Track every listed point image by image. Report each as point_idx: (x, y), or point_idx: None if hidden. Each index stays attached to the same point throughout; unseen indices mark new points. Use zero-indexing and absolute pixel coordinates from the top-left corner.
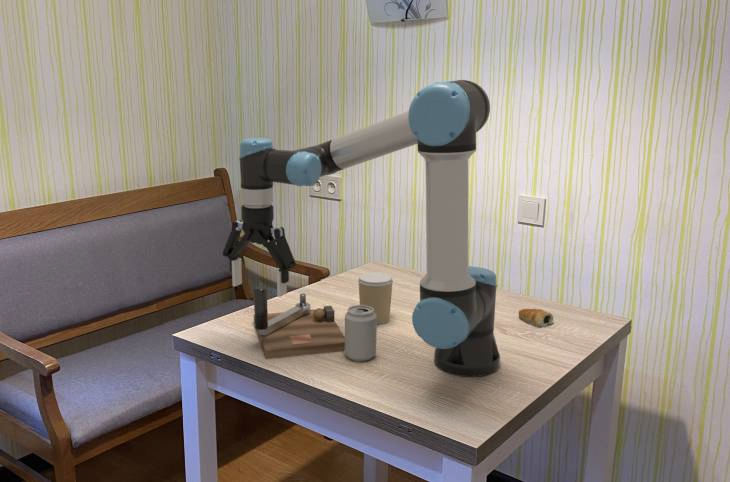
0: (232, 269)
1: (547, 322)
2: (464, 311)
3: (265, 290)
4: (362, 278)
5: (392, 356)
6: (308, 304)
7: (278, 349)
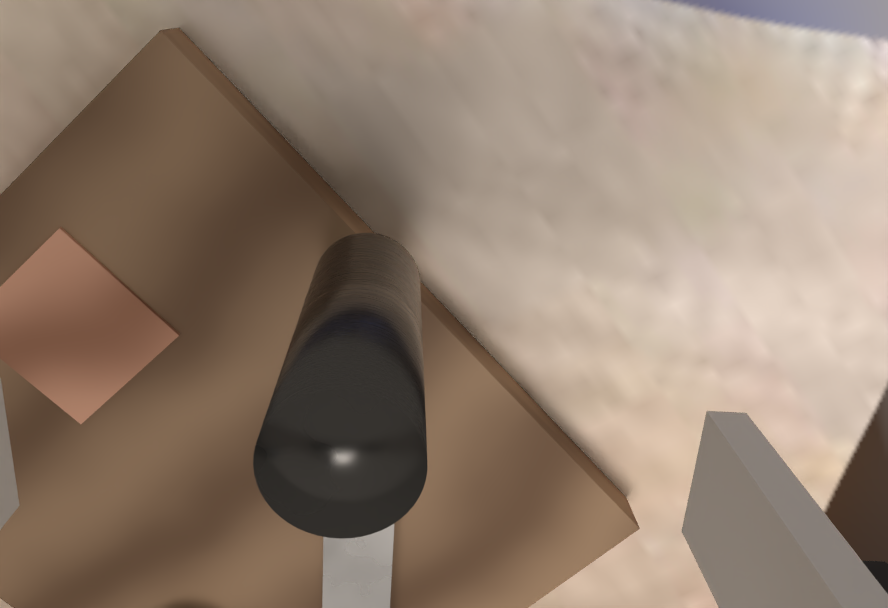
0: (855, 566)
1: None
2: None
3: (253, 458)
4: None
5: None
6: None
7: (93, 101)
